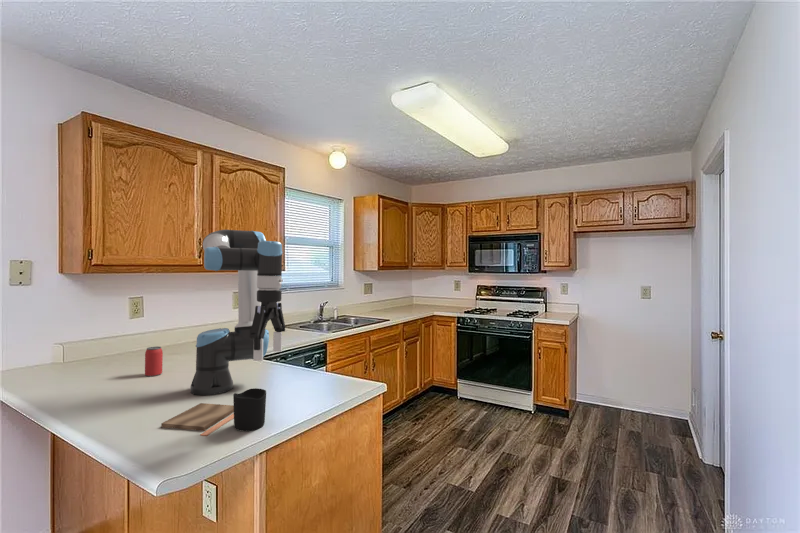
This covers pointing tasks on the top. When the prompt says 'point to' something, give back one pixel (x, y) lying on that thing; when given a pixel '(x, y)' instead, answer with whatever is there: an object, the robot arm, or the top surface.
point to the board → (199, 417)
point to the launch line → (217, 425)
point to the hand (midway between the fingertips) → (268, 355)
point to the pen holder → (249, 409)
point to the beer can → (153, 361)
